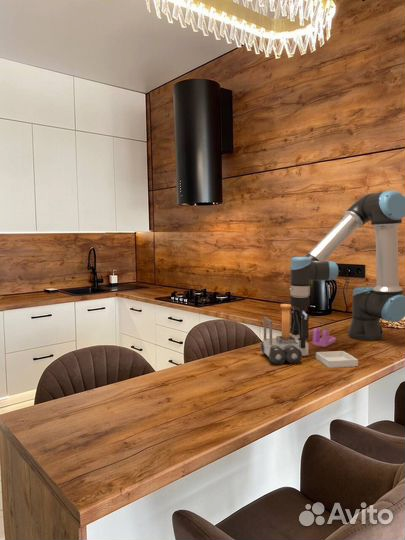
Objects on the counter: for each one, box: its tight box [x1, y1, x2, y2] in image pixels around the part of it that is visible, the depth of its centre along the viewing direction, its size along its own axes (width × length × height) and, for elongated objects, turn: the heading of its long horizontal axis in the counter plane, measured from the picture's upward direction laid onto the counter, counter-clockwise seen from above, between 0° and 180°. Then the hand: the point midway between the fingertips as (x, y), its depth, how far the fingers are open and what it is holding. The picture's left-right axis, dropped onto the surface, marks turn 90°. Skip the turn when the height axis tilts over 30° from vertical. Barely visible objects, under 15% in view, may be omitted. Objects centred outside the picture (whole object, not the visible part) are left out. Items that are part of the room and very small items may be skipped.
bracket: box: [312, 327, 337, 348], centre depth 181 cm, size 13×6×7 cm, turn 139°
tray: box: [315, 350, 359, 369], centre depth 154 cm, size 11×11×2 cm
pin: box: [279, 303, 292, 339], centre depth 158 cm, size 4×4×14 cm
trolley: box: [260, 316, 303, 366], centre depth 158 cm, size 12×14×16 cm
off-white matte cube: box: [295, 340, 309, 356], centre depth 166 cm, size 6×6×5 cm
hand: (298, 353), depth 166 cm, fingers open, 6 cm apart
